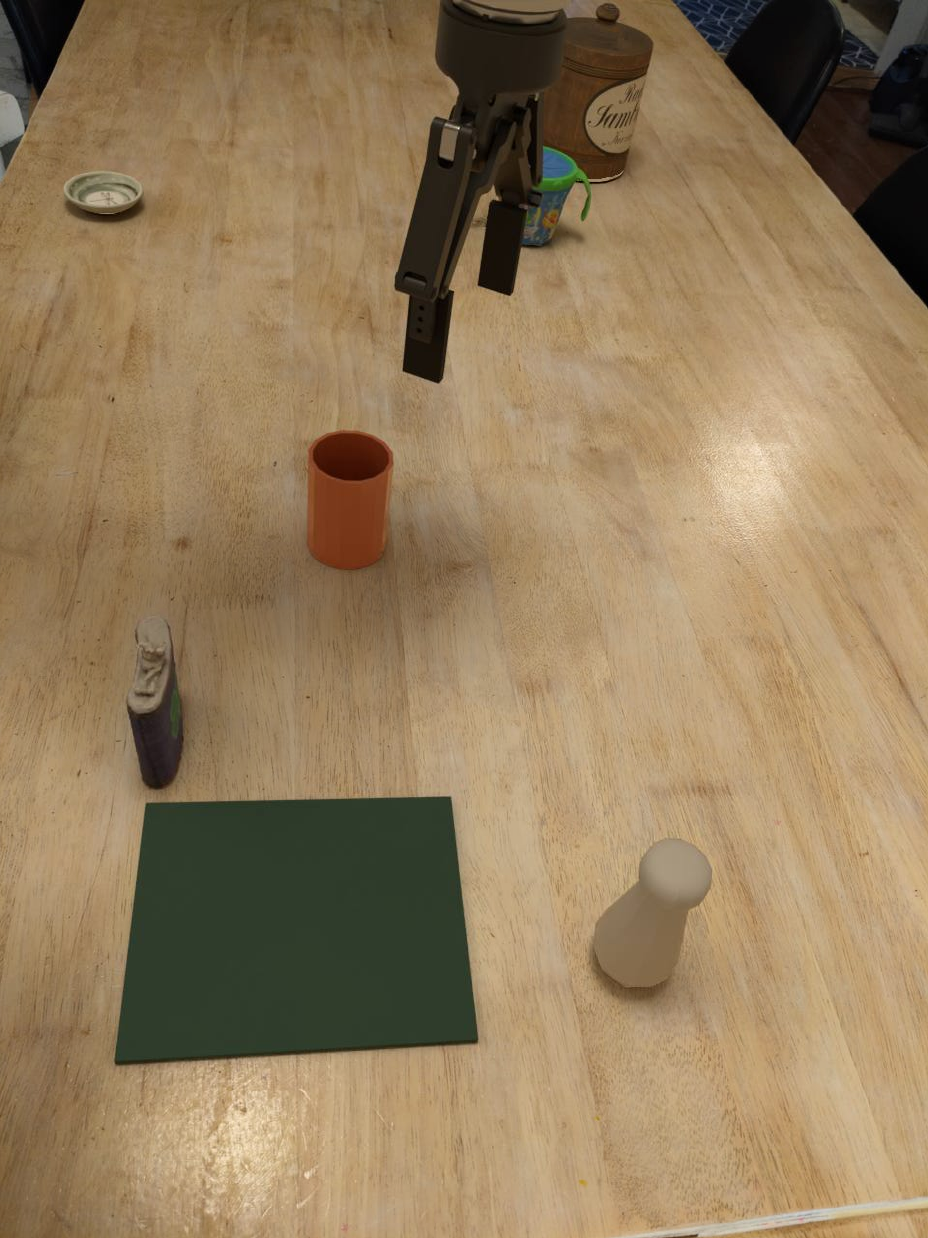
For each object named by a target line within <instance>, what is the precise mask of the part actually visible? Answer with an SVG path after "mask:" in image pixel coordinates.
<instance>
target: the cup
mask: <svg viewBox="0 0 928 1238" xmlns="http://www.w3.org/2000/svg"><path fill="white" fill-rule="evenodd" d="M394 465H395V462H394V452H393V451H392V449H391V448H390V447H389V446H388V444H387V443H386V442H385V441H384V440H382V439H380V438H379V437H377V436H376V435H373V434H370V433H367V432H363V431H360V430H350V429H349V430H347V429H345V430H344V429H341V430H338V431H331V432H327V433H325V434H323V435H321V436H320V437H318V438H316V439H315V440H314V441H313V442H312V444H311V445H310V447H309V448H308V451H307V499H306V500H307V501H306V502H307V503H306V504H307V506H306V509H307V510H306V513H307V514H306V545H307V548H308V550H309V553H310V554H311V555H312V556H313V557H314V558H315V559H316V560H317V561H318V562H320V563H322V564H324V565H326V566H328V567H331V568H335V569H339V570H356V569H362V568H365V567H369V566H371V565H372V564H373V563H375V562H376V561H379V559H380V558H381V557H382V555H383V554H384V552H385V549H386V545H387V540H388V529H389V528H388V527H389V519H390V518H389V517H390V507H391V495H392V486H393V476H394V475H393V474H394Z"/></svg>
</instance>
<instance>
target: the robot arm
mask: <svg viewBox="0 0 928 1238" xmlns="http://www.w3.org/2000/svg"><path fill="white" fill-rule="evenodd" d="M572 2H573V0H440V1H439V7H438V8H439V9H438V19H437V20H438V21H437V29H436V40H435V49H434V60H435V63H436V66H437V67H438V69H439V71H440V72H441V73H443V75H445V76H446V77H448V78H450V80H451V81H452V82H453V83H454V84H455V86H456V87H457V90H458V95H457V96H456V100H455V104H454V105H453V106H452V108H451V110H450V113H449V115H448V118H444V117H440V116H437V115H436V116H434V117H433V119H432V121H431V124H430V125H429V134H428V141H427V148H426V156H425V162H424V165H423V170H422V174H421V178H420V181H419V186H418V190H417V194H416V198H415V201H414V205H413V210H412V213H411V217H410V220H409V225H408V229H407V231H406V236H405V240H404V244H403V249H402V252H401V256H400V260H399V265H398V268H397V271H396V272H395V275H394V285H393V288H394V291H396V292H399V293H402V294H405V295H408V303H407V305H408V306H407V317H406V328H405V337H404V338H405V339H404V348H403V349H404V350H403V359H402V370H401V371H402V372H403V373H406V374H409V375H412V376H415V377H417V378H420V379H424V380H426V381H428V382H431V383H434V384H437V385H439V384H440V383H441V382H442V381H443V379H444V374H445V367H446V358H447V352H448V351H447V350H448V344H449V335H450V328H451V327H450V326H451V320H452V313H453V304H454V296H455V291H454V290H452V289H450V286H451V283H452V280H453V278H454V274H455V271H456V268H457V266H458V263H459V261H460V257H461V254H462V251H463V248H464V246H465V242H466V240H467V237H468V234H469V231H470V228H471V225H472V223H473V219H474V217H475V214H476V211H477V210H478V209H477V208H478V205H479V203H480V199H481V198H482V196H483V195H486V194H489V193H490V192H491V190H492V189H494V193H495V196H496V197H497V198H499V197H500V198H501V201H498V199H493V198H492V199H491V201H490V202H489V203H488V210H487V215H486V216H487V217H486V223H485V231H484V237H483V244H482V251H481V256H480V258H481V259H480V265H479V272H478V278H477V286H476V287H480V288H482V289H483V288H484V289H486V290H489V291H493V292H496V293H498V294H501V295H505V296H508V297H511V296H512V295H513V294H514V291H515V286H516V279H517V274H518V270H519V269H518V267H519V263H520V257H521V250H522V245H523V244H522V240H523V234H524V228H525V223H526V217H527V211H528V210H526V209H523V208H524V205H526V206H529V207H533V208H536V209H538V208H539V206H540V204H541V201H542V196H543V193H542V192H539V191H536V190H533V187H536V188H538V187H539V185H540V184H541V182H542V180H543V129H544V94H545V90H547V89H549V88H551V87H552V86H553V85H554V84H555V83H556V82H557V80H558V78H559V76H560V71H561V66H562V60H563V54H564V49H565V43H566V38H567V32H568V27H569V20H568V18H569V17H568V16H567V14H566V12H565V10H564V9H566V8H567V7H568V6H569V5H571V4H572ZM529 165H530V167H529Z"/></svg>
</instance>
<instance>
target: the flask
mask: <svg viewBox="0 0 928 1238" xmlns="http://www.w3.org/2000/svg"><path fill="white" fill-rule="evenodd" d="M134 632H135V634H134V637H135V641H136V642H135V643H136V644H135V648H136V649H137V653H136V664H135V672H134V676H133V680H132V684H131V686H130V689H129V690H128V692H127V696H126V699H125V703H126V710H127V713H128V719H129V723H130V728H131V731H132V736H133V743H134V747H135V752H136V755H137V760H138V764H139V769H140V775H141V777H140V779H141V781H142V782H143V784H144V785H145V786H147V787H148V790H151V789H155V790H157V789H160V790H161V789H164V788H166V787H169V786H170V785H171V784H172V782H173V781H174V780H175V777H176V776H177V774H178V771H179V766H180V762H181V760H182V754H183V749H184V746H183V745H184V733H183V731H184V730H183V729H184V727H183V711H182V701H181V697H180V691H179V684H178V676H177V670H176V661H175V652H174V643H173V639H172V638H173V637H172V633H171V627H170V625H169V622H168V621H167V620H166V619H165V618H163V617H160V616H156V615H150V616H147V617H144V618H142V619H140V620H138V621H137V623H136V626H135V629H134Z"/></svg>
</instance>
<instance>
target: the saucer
mask: <svg viewBox="0 0 928 1238" xmlns="http://www.w3.org/2000/svg"><path fill="white" fill-rule="evenodd" d="M62 193H63V195H64V197H65V198H66V199H67V201H69V202H70V203H72V204H74V205H75V206H77V207H78V208H80V209H82V210H84V211H86V212H90V213H92V212H95V213H116V212H120V211H122V212H124V211H127V210H128V209H131V208H132V207H133V206H135V205H136V203H138V202H139V201H140V200H141V199H142V198H143V195H144V186H143V185H142V184H141V182H140V181H139V180H137V179H136V178H134V177H133V176H130V175H127V174H124V173H121V172H117V171H106V170H96V171H88V172H83V173H80V174H76V175H74V176H73V177H71V178H69V179H68V180H67V181H66V182H65V183H64V184H63V187H62ZM95 213H94V214H95ZM120 213H121V212H120Z"/></svg>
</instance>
